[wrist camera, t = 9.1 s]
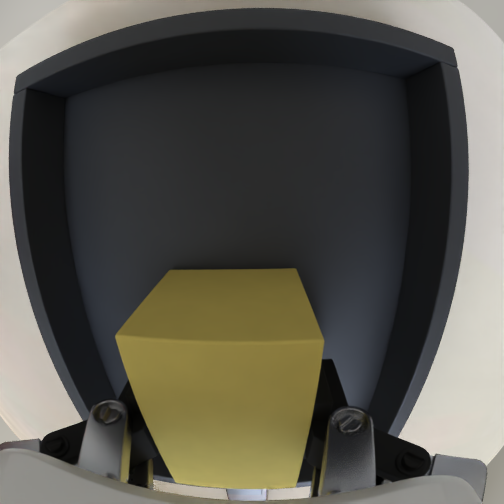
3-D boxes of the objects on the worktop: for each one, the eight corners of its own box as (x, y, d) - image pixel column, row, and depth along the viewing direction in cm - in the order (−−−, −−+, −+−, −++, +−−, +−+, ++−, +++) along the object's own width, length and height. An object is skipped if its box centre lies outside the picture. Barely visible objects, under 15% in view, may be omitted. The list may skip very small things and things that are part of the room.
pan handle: (222, 445, 13) (218, 483, 10) (267, 446, 13) (268, 484, 10) (235, 503, 16) (234, 528, 14) (265, 504, 16) (265, 528, 14)
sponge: (169, 269, 9) (113, 335, 5) (296, 267, 9) (325, 339, 5) (193, 408, 11) (175, 483, 7) (287, 409, 11) (296, 488, 7)
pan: (60, 88, 8) (15, 75, 5) (412, 69, 8) (453, 47, 5) (131, 437, 13) (118, 471, 10) (363, 438, 13) (374, 474, 10)
